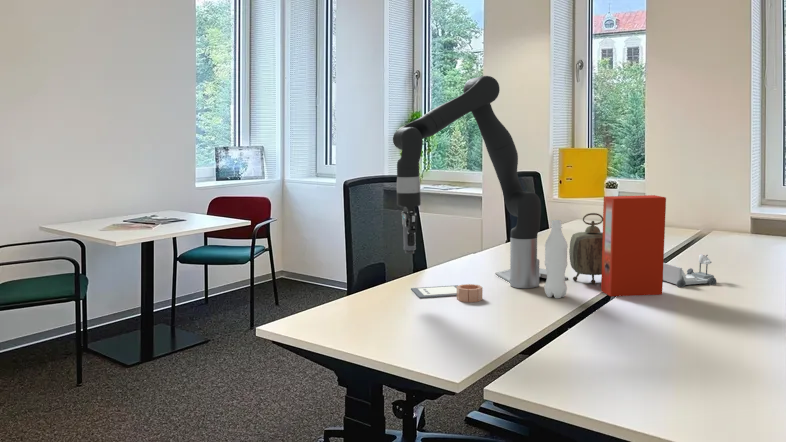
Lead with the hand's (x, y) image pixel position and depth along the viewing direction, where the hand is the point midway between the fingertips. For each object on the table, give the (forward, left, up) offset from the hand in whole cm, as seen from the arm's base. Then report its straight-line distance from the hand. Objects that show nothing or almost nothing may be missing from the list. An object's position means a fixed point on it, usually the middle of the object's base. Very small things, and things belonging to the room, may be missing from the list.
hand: (409, 244), depth 200 cm
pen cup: (-19, +3, -18) cm, 27 cm away
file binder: (-73, +9, -19) cm, 76 cm away
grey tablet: (-12, -8, -18) cm, 24 cm away
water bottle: (-47, +7, -19) cm, 51 cm away
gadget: (-51, -22, -19) cm, 59 cm away
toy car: (-101, 0, -19) cm, 103 cm away
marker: (0, 0, -3) cm, 3 cm away
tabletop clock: (-68, -8, -19) cm, 71 cm away
